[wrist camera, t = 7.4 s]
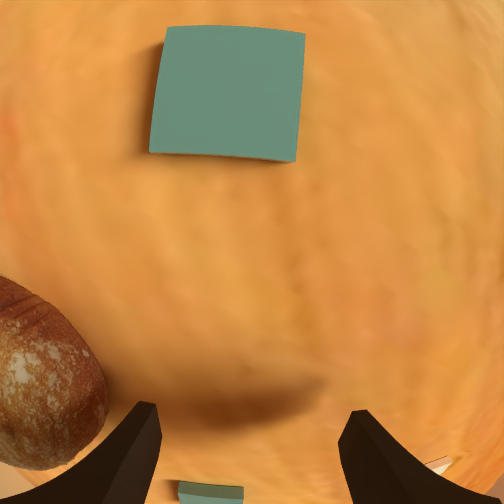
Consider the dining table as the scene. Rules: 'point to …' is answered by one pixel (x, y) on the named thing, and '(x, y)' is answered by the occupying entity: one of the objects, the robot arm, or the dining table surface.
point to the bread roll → (45, 384)
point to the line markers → (230, 122)
